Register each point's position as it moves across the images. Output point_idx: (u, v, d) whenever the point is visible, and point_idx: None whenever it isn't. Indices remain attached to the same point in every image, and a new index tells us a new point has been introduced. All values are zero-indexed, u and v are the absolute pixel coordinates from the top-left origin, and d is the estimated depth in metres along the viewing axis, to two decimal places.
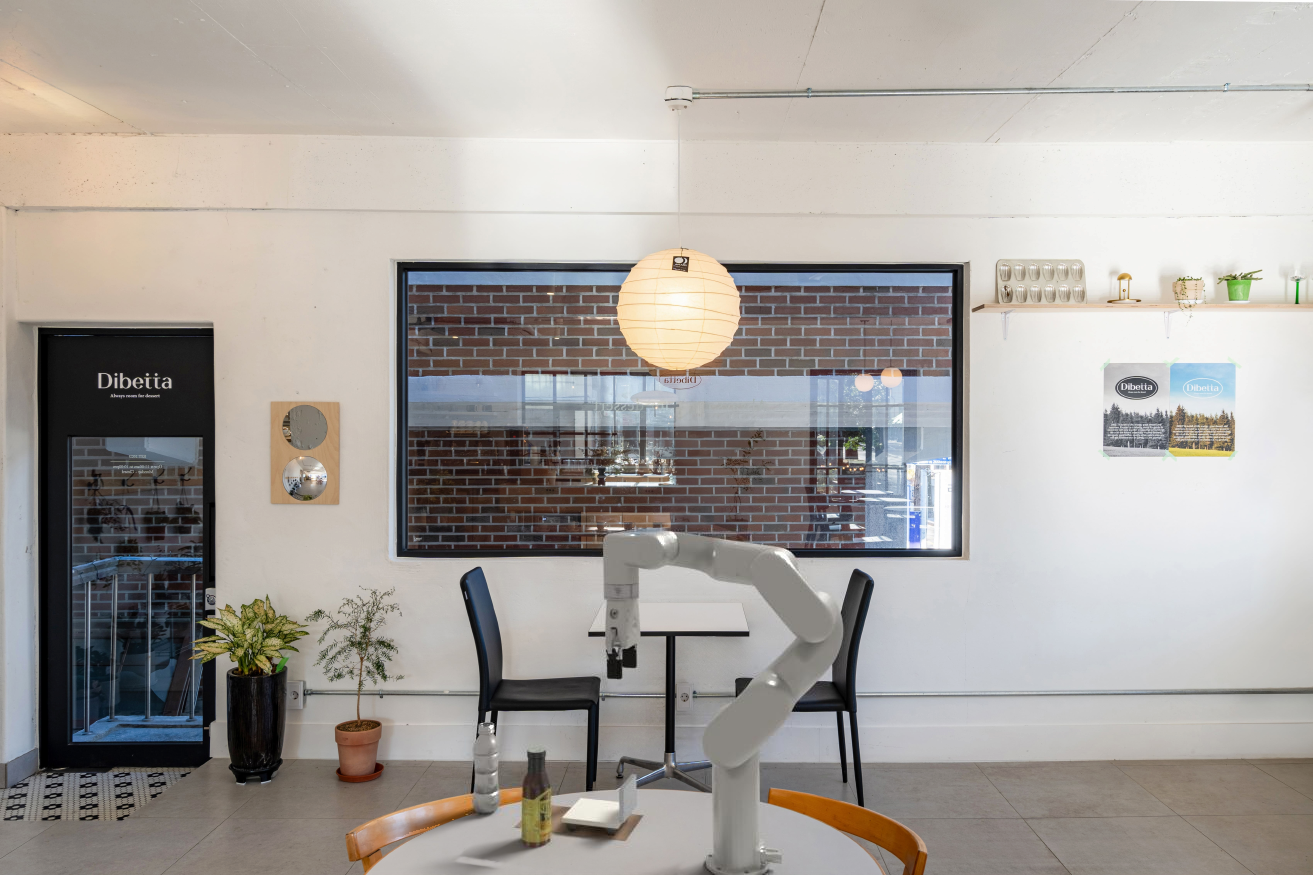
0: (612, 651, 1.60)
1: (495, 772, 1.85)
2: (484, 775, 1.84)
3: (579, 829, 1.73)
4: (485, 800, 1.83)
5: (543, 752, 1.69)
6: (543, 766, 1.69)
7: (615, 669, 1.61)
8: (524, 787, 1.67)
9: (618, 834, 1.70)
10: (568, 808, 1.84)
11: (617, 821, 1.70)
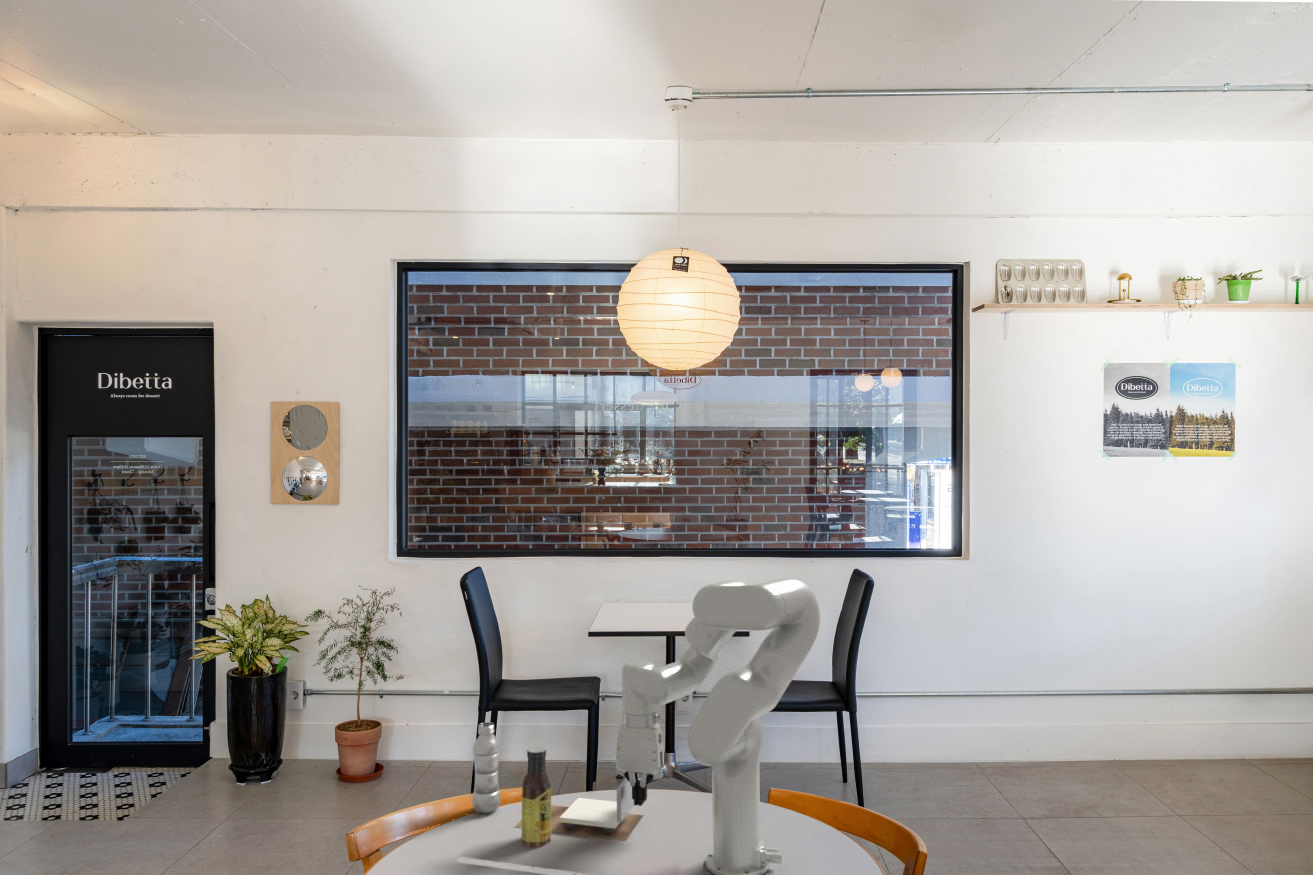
0: None
1: (495, 772, 1.85)
2: (484, 775, 1.84)
3: (579, 829, 1.73)
4: (485, 800, 1.83)
5: (543, 752, 1.69)
6: (543, 766, 1.69)
7: (646, 793, 1.74)
8: (524, 787, 1.67)
9: (618, 834, 1.70)
10: None
11: (614, 821, 1.70)
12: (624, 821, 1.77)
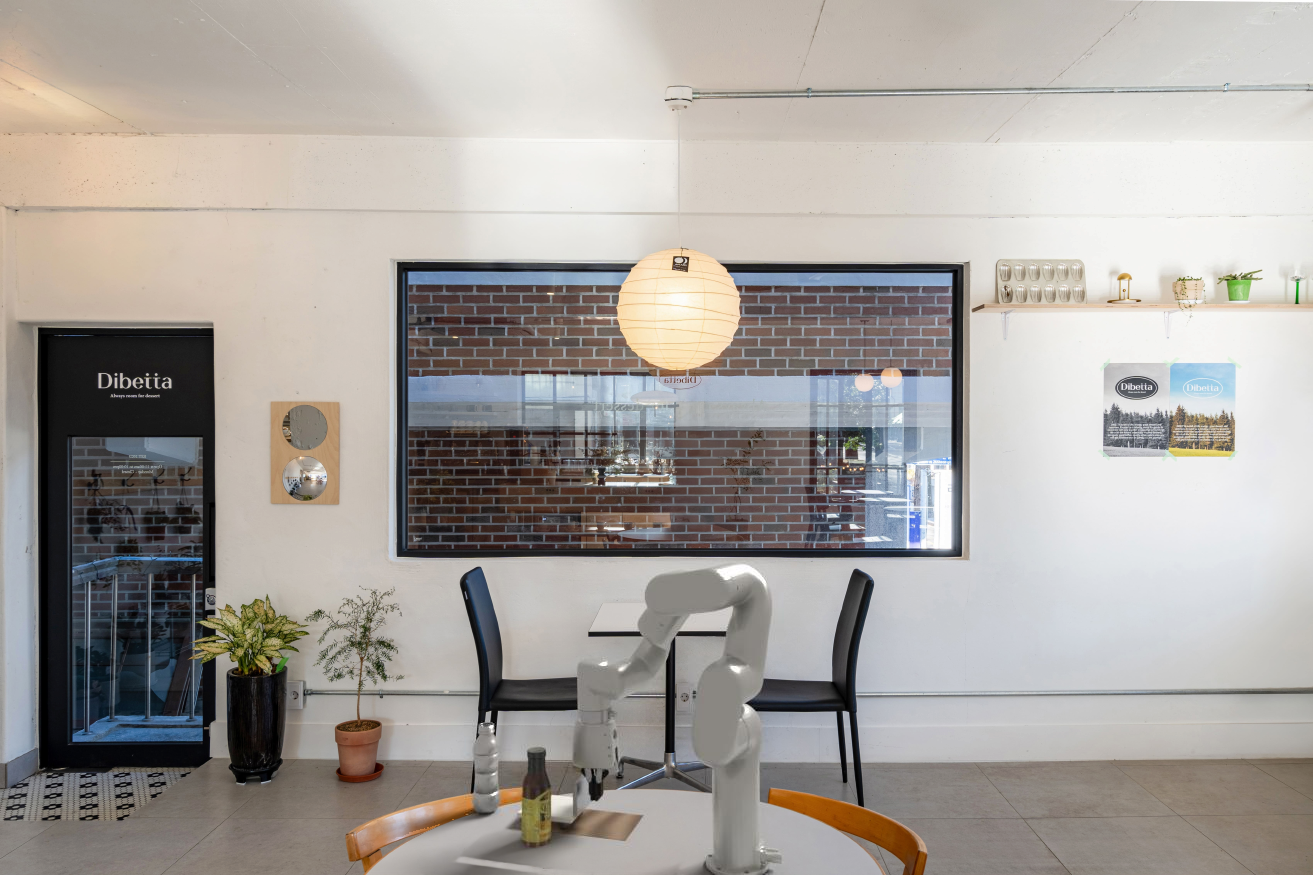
0: None
1: (495, 772, 1.85)
2: (484, 775, 1.84)
3: (579, 829, 1.73)
4: (485, 800, 1.83)
5: (543, 752, 1.69)
6: (543, 766, 1.69)
7: (602, 788, 1.77)
8: (524, 787, 1.67)
9: (618, 834, 1.70)
10: None
11: (571, 816, 1.73)
12: (624, 821, 1.77)
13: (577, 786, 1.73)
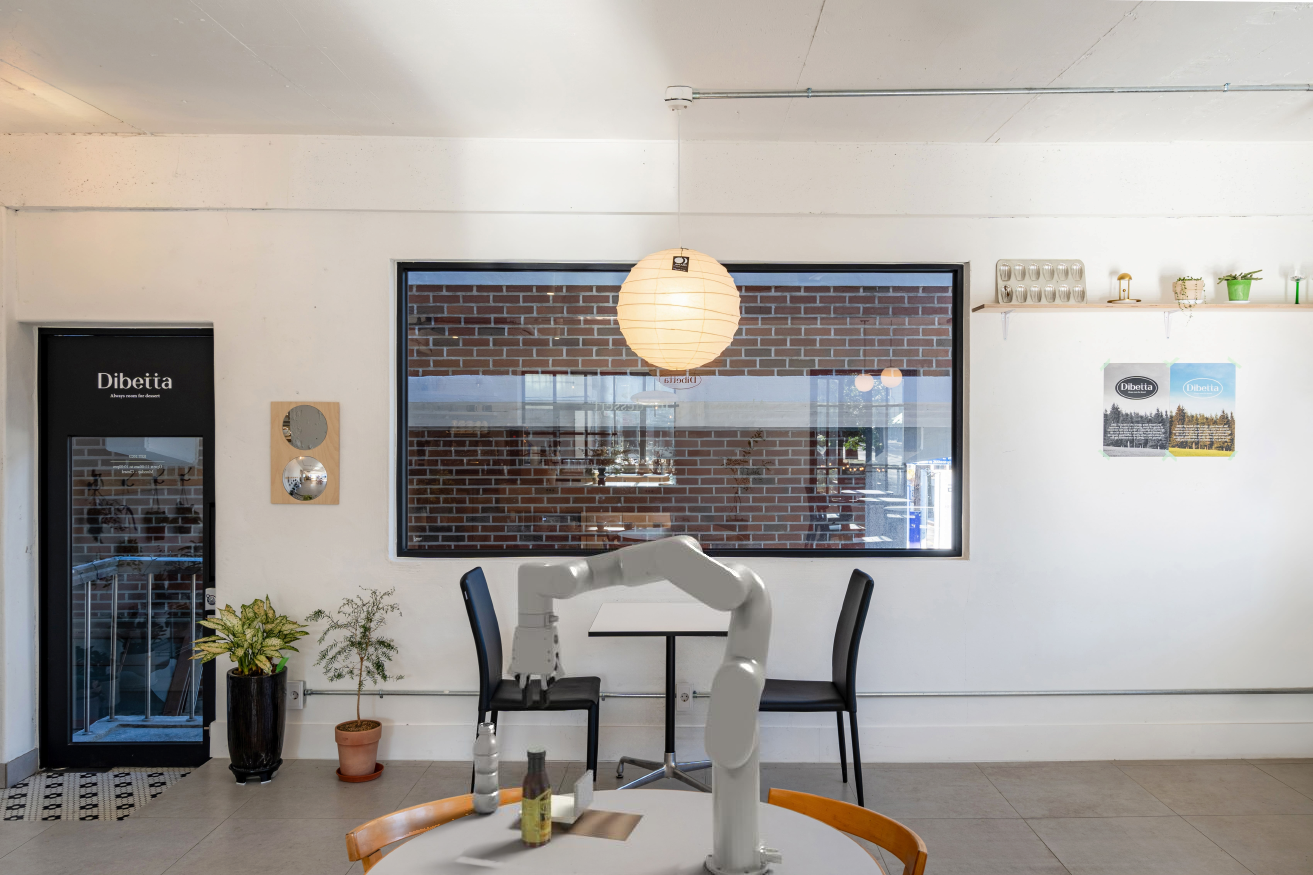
0: None
1: (495, 772, 1.85)
2: (484, 775, 1.84)
3: (579, 829, 1.73)
4: (485, 800, 1.83)
5: (543, 752, 1.69)
6: (543, 766, 1.69)
7: (549, 696, 1.69)
8: (524, 787, 1.67)
9: (618, 834, 1.70)
10: None
11: (572, 816, 1.73)
12: (624, 821, 1.77)
13: (578, 786, 1.73)
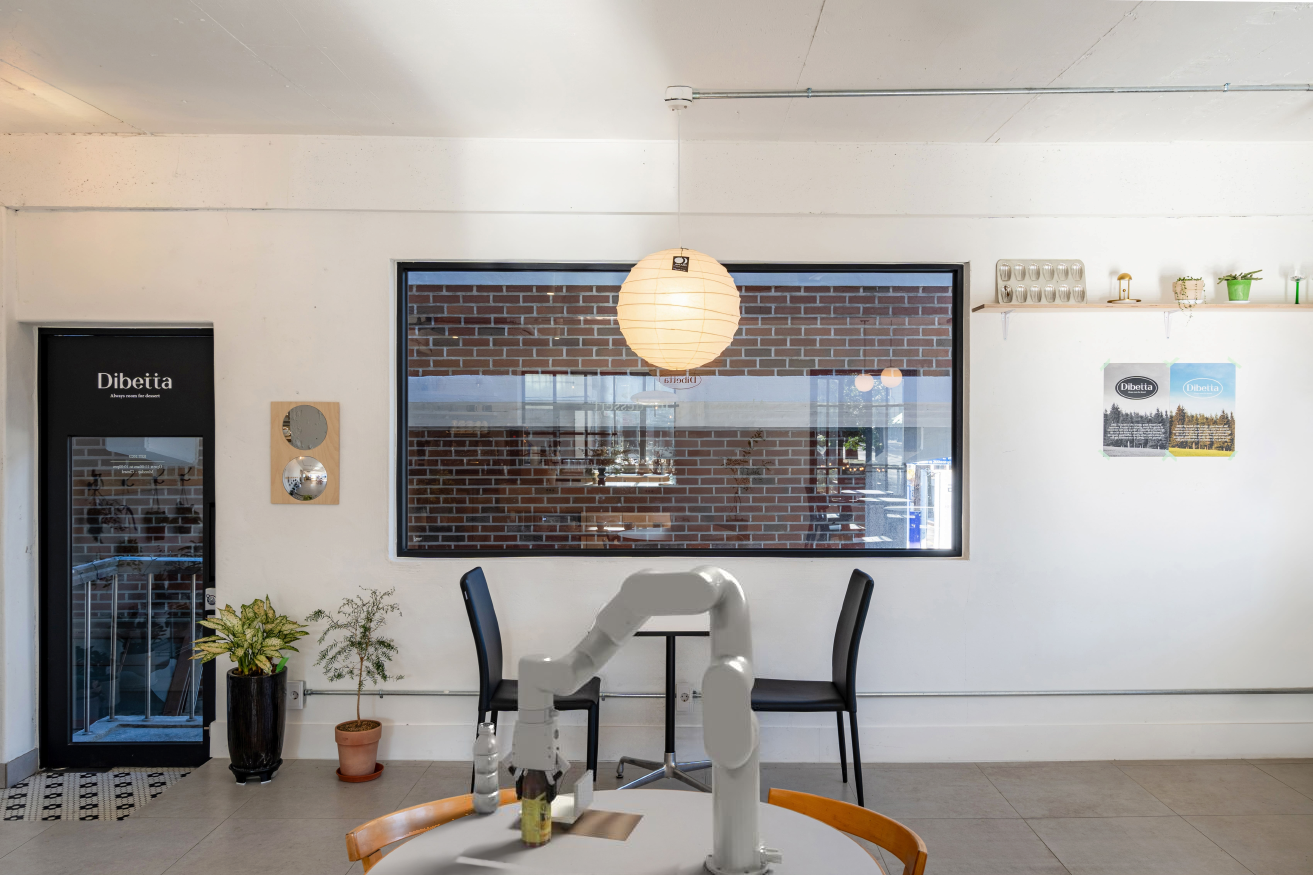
0: None
1: (495, 772, 1.85)
2: (484, 775, 1.84)
3: (579, 829, 1.73)
4: (485, 800, 1.83)
5: None
6: None
7: (556, 790, 1.68)
8: (524, 787, 1.67)
9: (618, 834, 1.70)
10: None
11: (572, 816, 1.73)
12: (624, 821, 1.77)
13: (578, 786, 1.73)
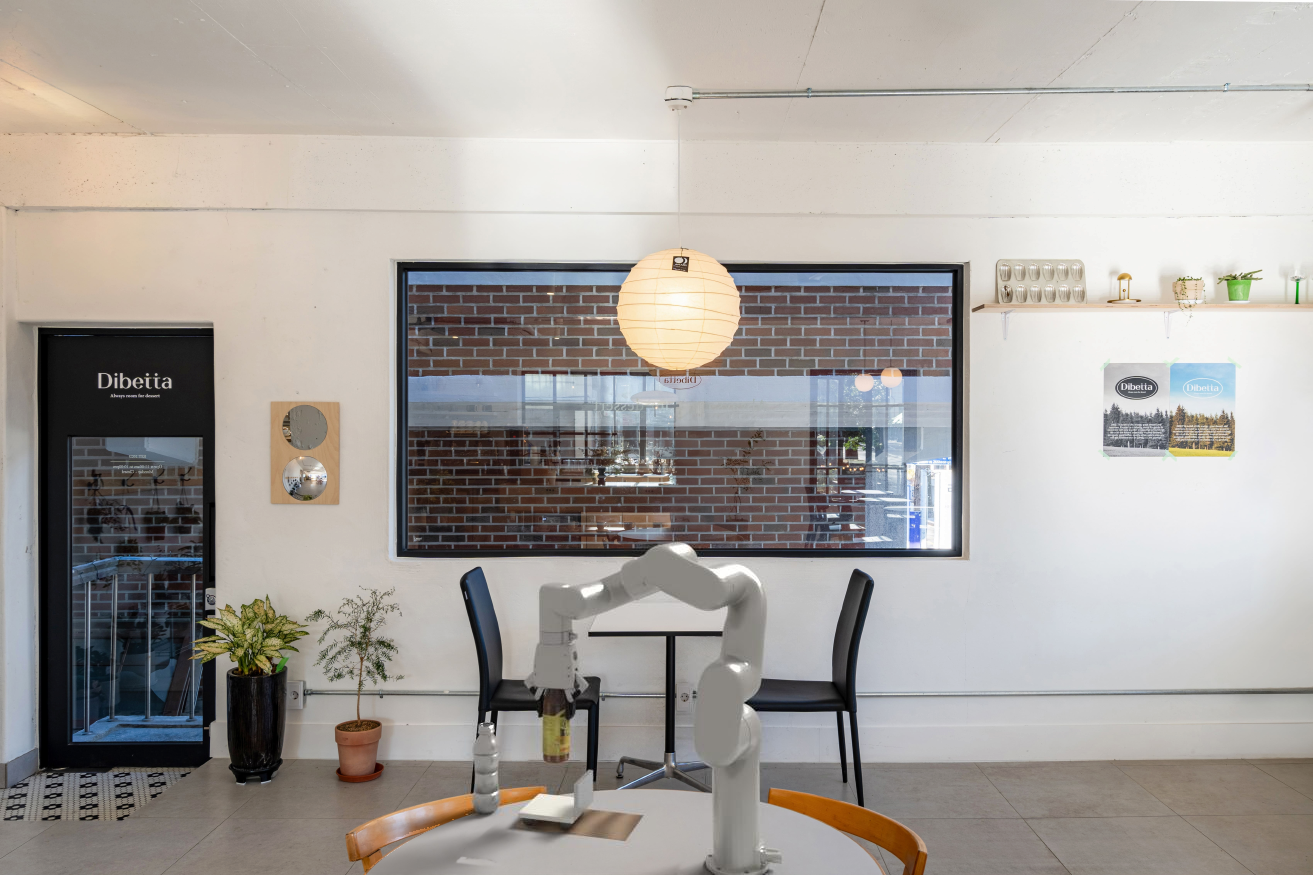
0: None
1: (495, 772, 1.85)
2: (484, 775, 1.84)
3: (579, 829, 1.73)
4: (485, 800, 1.83)
5: None
6: None
7: (575, 708, 1.79)
8: (545, 705, 1.78)
9: (618, 834, 1.70)
10: None
11: (572, 816, 1.73)
12: (624, 821, 1.77)
13: (578, 786, 1.73)
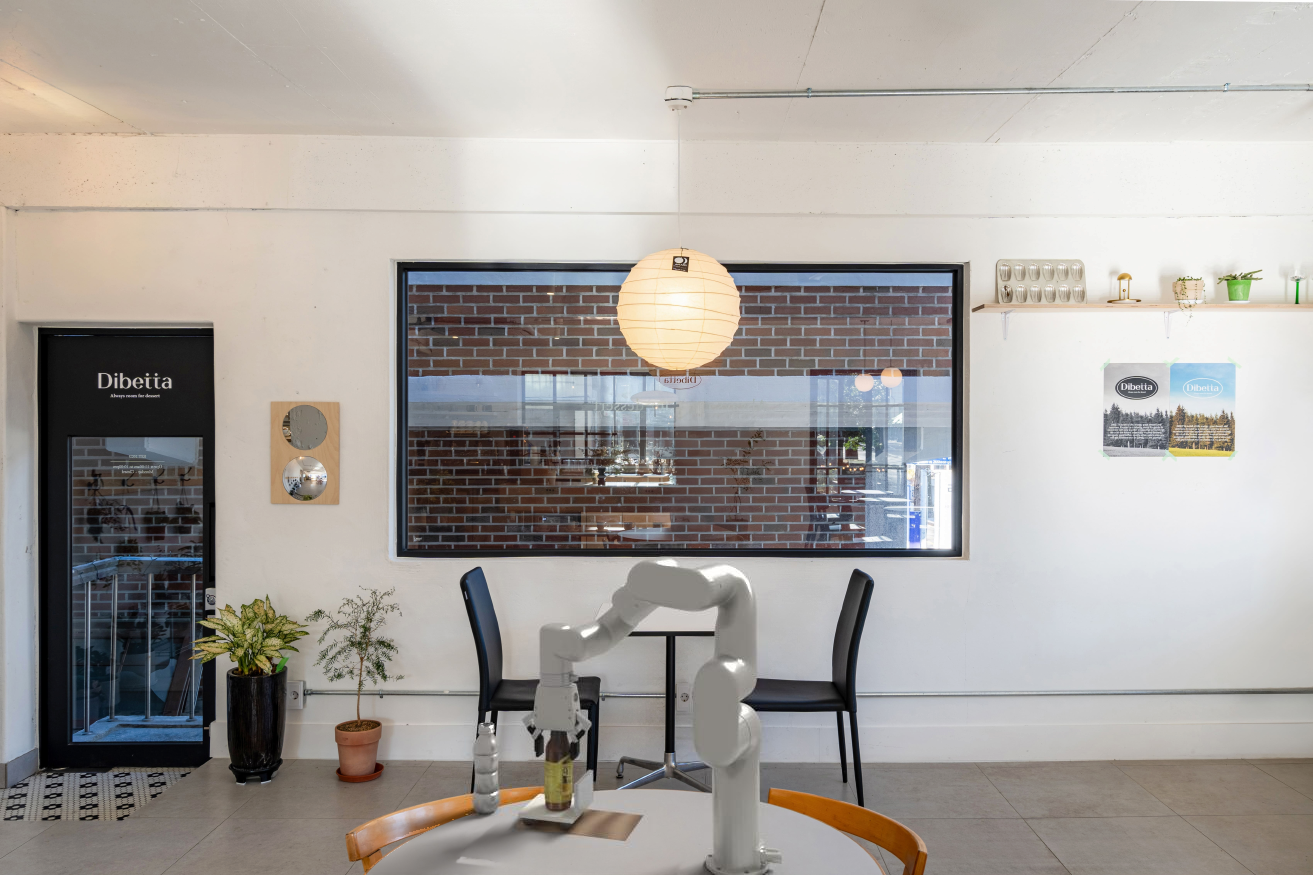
0: (586, 731, 1.78)
1: (495, 772, 1.85)
2: (484, 775, 1.84)
3: (579, 829, 1.73)
4: (485, 800, 1.83)
5: None
6: (565, 732, 1.79)
7: (579, 748, 1.79)
8: (547, 751, 1.78)
9: (618, 834, 1.70)
10: None
11: (572, 816, 1.73)
12: (624, 821, 1.77)
13: (578, 786, 1.73)
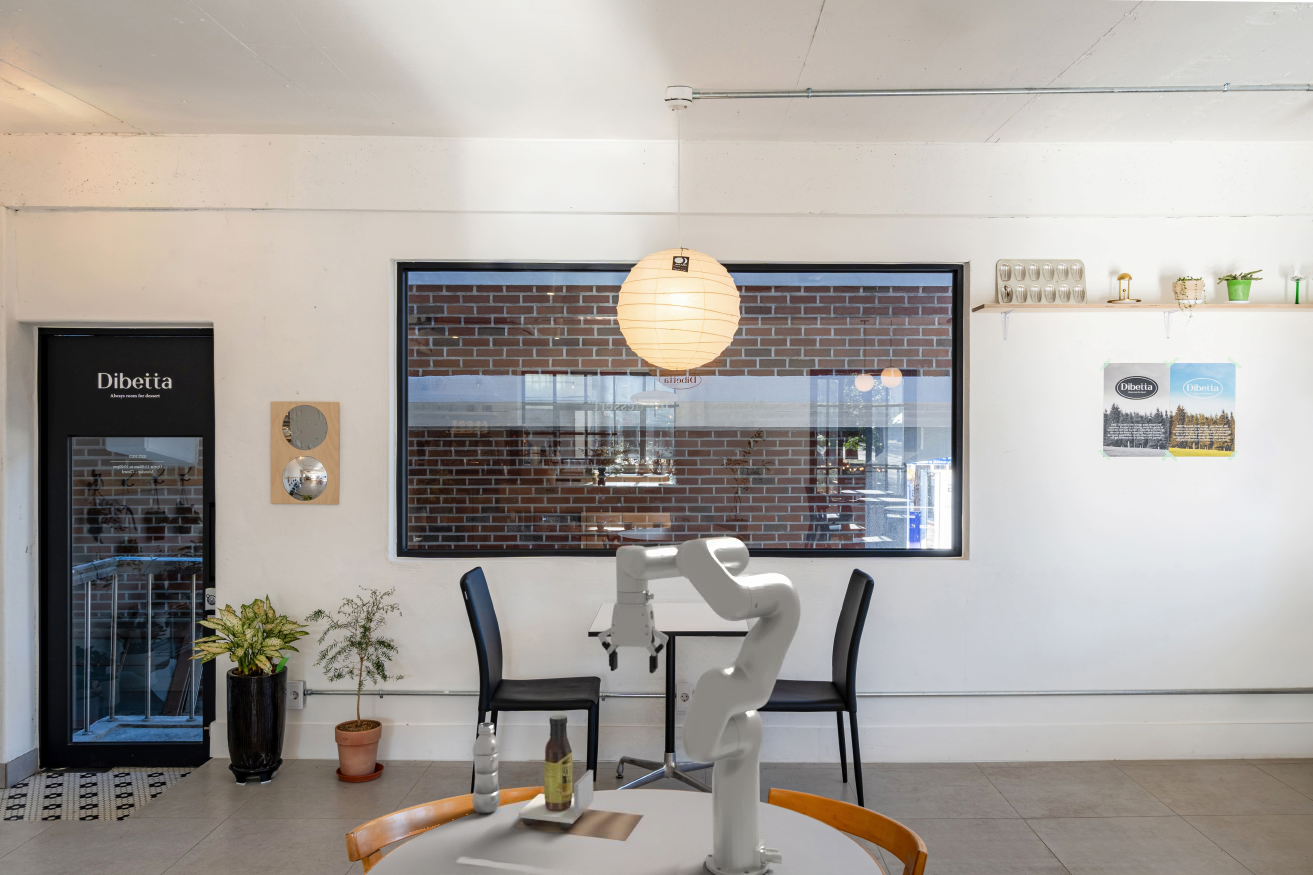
0: (664, 645, 1.85)
1: (495, 772, 1.85)
2: (484, 775, 1.84)
3: (579, 829, 1.73)
4: (485, 800, 1.83)
5: (565, 719, 1.79)
6: (565, 732, 1.79)
7: (657, 662, 1.86)
8: (547, 751, 1.78)
9: (618, 834, 1.70)
10: None
11: (572, 816, 1.73)
12: (624, 821, 1.77)
13: (578, 786, 1.73)
